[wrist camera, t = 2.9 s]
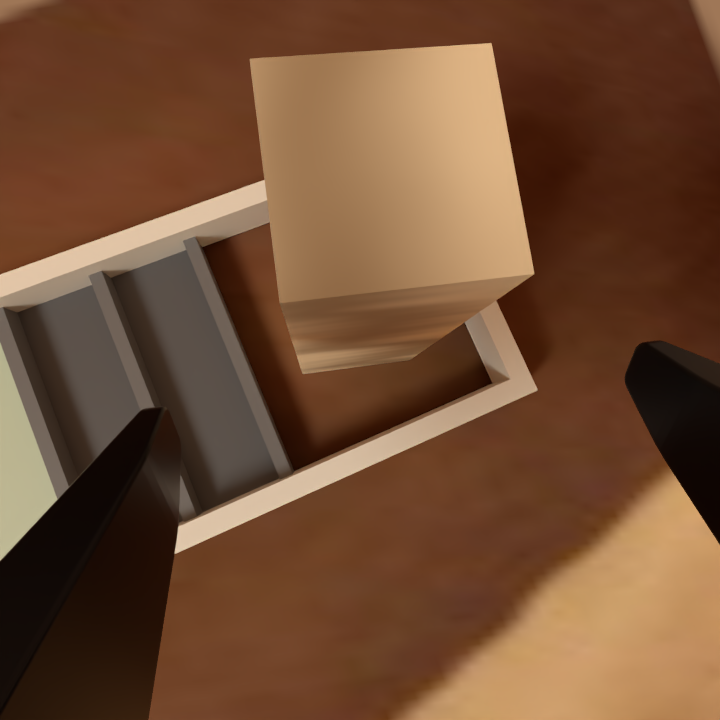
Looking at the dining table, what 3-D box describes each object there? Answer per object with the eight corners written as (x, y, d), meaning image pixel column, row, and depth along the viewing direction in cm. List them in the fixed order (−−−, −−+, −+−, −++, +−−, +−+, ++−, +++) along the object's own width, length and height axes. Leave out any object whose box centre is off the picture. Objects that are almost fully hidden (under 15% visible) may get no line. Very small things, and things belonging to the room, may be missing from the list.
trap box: (406, 152, 22) (415, 125, 20) (516, 393, 21) (537, 390, 19) (-263, 397, 18) (-334, 394, 16) (-169, 701, 17) (-232, 737, 15)
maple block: (393, 257, 21) (491, 43, 9) (409, 360, 20) (534, 273, 9) (289, 268, 21) (249, 58, 9) (302, 374, 20) (279, 303, 8)
